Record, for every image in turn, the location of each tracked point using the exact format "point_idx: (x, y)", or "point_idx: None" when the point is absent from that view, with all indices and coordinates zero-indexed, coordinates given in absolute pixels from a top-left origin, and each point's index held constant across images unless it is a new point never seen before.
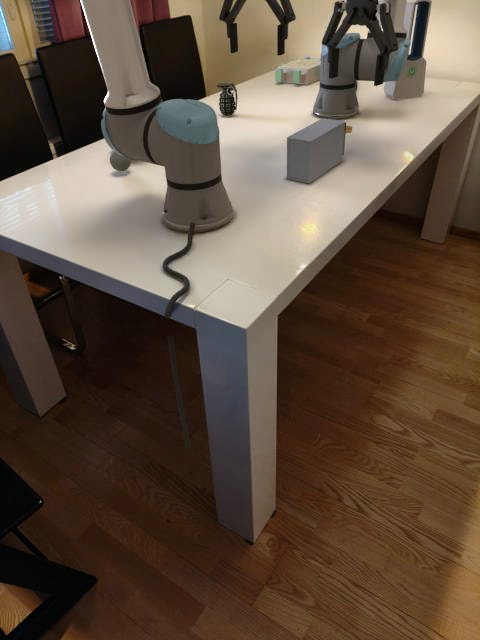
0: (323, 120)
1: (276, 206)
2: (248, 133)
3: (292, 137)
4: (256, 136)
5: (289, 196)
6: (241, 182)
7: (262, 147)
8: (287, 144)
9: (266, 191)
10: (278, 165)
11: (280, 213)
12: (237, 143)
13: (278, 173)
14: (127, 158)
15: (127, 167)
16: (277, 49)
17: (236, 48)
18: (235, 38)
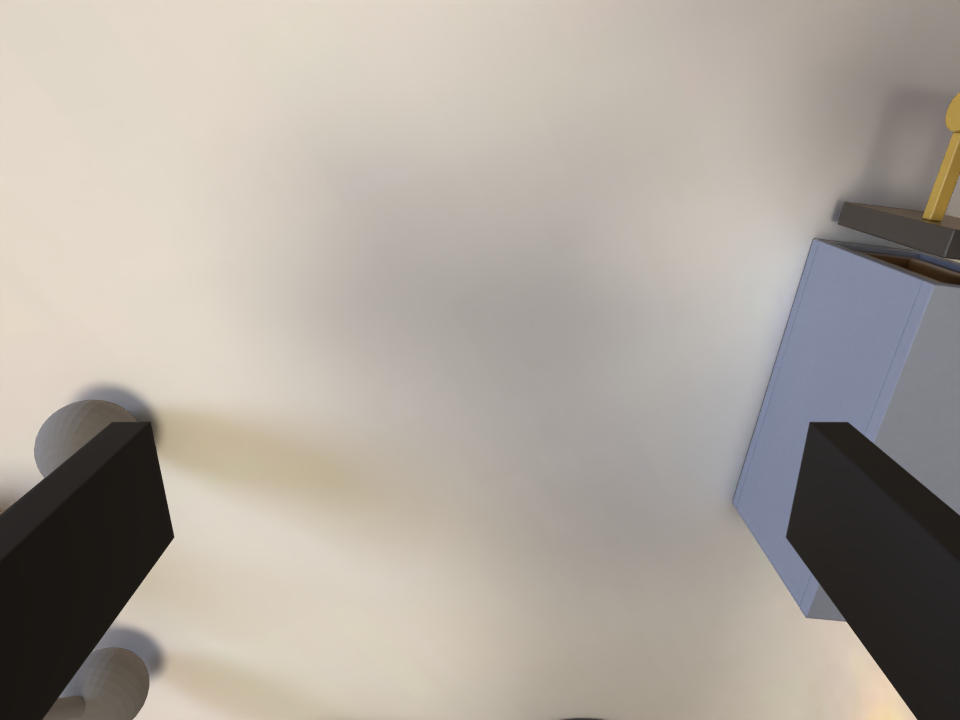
0: (947, 326)
1: (764, 675)
2: (276, 4)
3: (832, 613)
4: (355, 43)
5: (784, 611)
6: (582, 578)
7: (481, 210)
8: (794, 594)
9: (697, 606)
10: (652, 395)
11: (789, 703)
12: (323, 202)
13: (683, 467)
14: (135, 701)
15: (148, 677)
16: (819, 580)
17: (137, 480)
18: (64, 576)
